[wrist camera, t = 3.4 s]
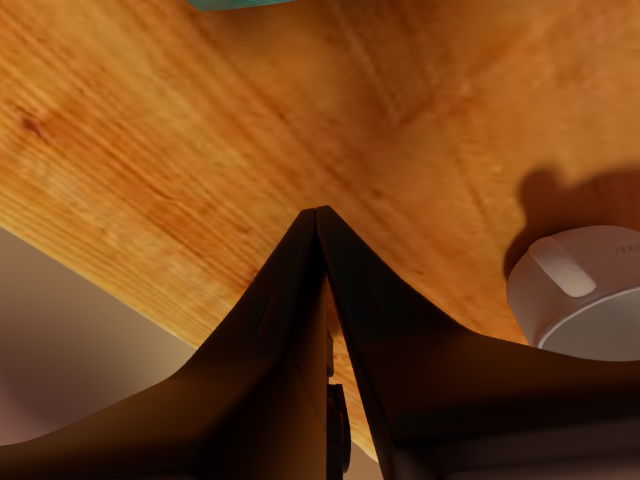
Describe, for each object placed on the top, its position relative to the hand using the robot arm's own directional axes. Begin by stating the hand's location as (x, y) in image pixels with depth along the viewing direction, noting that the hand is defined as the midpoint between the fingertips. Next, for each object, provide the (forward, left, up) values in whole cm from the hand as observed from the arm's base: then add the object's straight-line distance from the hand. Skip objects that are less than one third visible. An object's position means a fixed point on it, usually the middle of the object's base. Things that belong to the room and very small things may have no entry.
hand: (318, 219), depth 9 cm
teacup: (+14, -17, -12) cm, 25 cm away
